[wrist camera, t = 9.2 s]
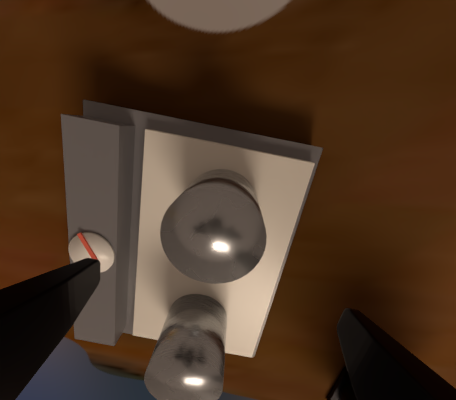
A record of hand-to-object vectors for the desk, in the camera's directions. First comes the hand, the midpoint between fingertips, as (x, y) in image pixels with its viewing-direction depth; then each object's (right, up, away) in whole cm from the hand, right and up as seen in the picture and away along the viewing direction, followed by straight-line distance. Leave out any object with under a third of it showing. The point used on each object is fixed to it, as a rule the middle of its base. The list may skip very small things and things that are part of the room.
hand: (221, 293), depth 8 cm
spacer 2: (-2, -7, +11) cm, 13 cm away
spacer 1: (0, +3, +7) cm, 8 cm away
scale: (-3, 0, +12) cm, 12 cm away
